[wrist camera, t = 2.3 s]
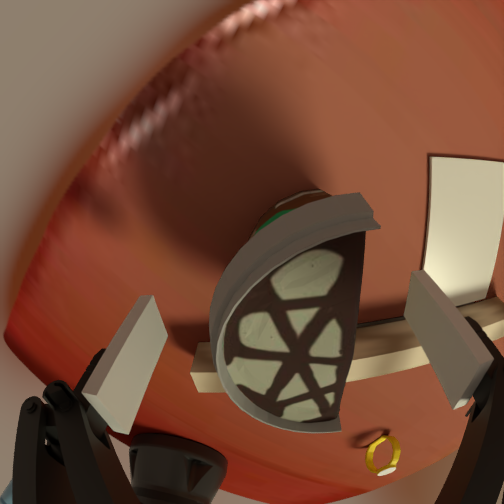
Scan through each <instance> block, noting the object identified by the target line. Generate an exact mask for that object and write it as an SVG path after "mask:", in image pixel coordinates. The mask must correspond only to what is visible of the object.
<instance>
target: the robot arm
mask: <svg viewBox="0 0 504 504" xmlns="http://www.w3.org/2000/svg"><path fill="white" fill-rule="evenodd" d="M404 317H405V318H406V320H407V322H408V323H409V325H410V327H411V329H412V330H413V332H414V334H415V336H416V337H417V339H418V341H419V343H420V345H421V346H422V348H423V350H424V352H425V354H426V356H427V358H428V360H429V361H430V363H431V365H432V367H433V369H434V371H435V373H436V375H437V377H438V379H439V381H440V383H441V385H442V387H443V389H444V392H445V394H446V396H447V398H448V400H449V402H450V405H451V407H452V409H453V410H454V409H456V408H459V407H461V406H463V405H466V404H467V403H468V401H469V400H470V398H471V397H472V395H473V397H474V399H475V402H474V403H473V405H472V406H471V408H470V409H469V410H468V412H467V414H466V415H465V416H466V417H467V416H468V415H469V414H470V417H469V420H468V423H467V427H466V430H465V433H464V436H463V439H462V442H461V445H460V447H459V450H458V453H457V456H456V458H455V461H454V463H453V466H452V468H451V470H450V473H449V475H448V477H447V480H446V482H445V484H444V486H443V488H442V490H441V492H440V494H439V496H438V498H437V500H436V502H435V504H496V502H497V499H498V496H499V493H500V491H501V488H502V485H503V481H504V357H503V356H502V355H501V353H500V352H499V350H498V349H497V348H496V346H495V345H494V343H493V342H492V341H491V339H490V338H489V337H487V334H486V333H485V331H483V329H482V327H481V326H480V325H479V324H478V322H477V321H475V320H474V319H472V318H471V317H469V316H467V317H463V315H462V314H461V313H460V312H459V310H458V309H457V308H456V307H455V305H454V304H453V303H452V302H451V300H450V299H449V298H448V297H447V296H446V294H445V293H444V292H443V291H442V290H441V288H440V287H439V286H438V285H437V284H436V283H435V282H434V280H433V279H432V278H431V277H430V276H429V275H428V274H427V273H426V271H425V270H418V271H412V272H411V279H410V285H409V291H408V296H407V301H406V306H405V311H404ZM167 337H168V334H167V332H166V329H165V327H164V324H163V321H162V319H161V316H160V313H159V311H158V308H157V305H156V302H155V299H154V296H153V295H145V296H140V297H139V299H138V300H137V302H136V303H135V305H134V306H133V308H132V309H131V311H130V312H129V314H128V315H127V317H126V318H125V320H124V322H123V323H122V325H121V326H120V328H119V329H118V331H117V333H116V334H115V336H114V337H113V339H112V341H111V342H110V344H109V346H108V347H107V349H103V348H102V349H101V350H100V351H99V352H98V353H97V354H96V355H95V356H94V357H93V359H92V360H91V362H90V365H88V367H87V369H86V371H85V372H84V374H83V375H82V377H81V379H80V380H79V382H78V384H77V386H76V387H75V389H74V391H72V390H71V389H70V387H69V386H68V385H67V383H66V382H64V381H61V380H57V381H53V382H52V383H50V384H49V385H48V386H47V387H46V388H45V390H44V392H43V398H44V399H45V401H46V402H47V403H48V404H44V403H43V402H42V401H41V399H40V398H38V397H36V396H32V397H29V398H28V399H26V400H25V402H24V403H23V404H22V407H21V410H20V416H19V421H18V427H17V434H16V442H15V452H14V462H13V478H12V480H11V481H10V483H9V485H8V486H7V487H6V489H5V490H4V492H3V493H2V495H1V497H0V504H211V502H212V500H213V498H214V497H215V495H216V493H217V491H218V489H219V488H220V486H221V484H222V482H223V480H224V478H225V476H226V473H227V464H228V462H227V460H226V458H225V457H224V456H223V455H221V454H220V453H219V452H217V451H215V450H213V449H211V448H209V447H207V446H204V445H202V444H199V443H196V442H193V441H190V440H186V439H183V438H178V437H174V436H169V435H163V434H153V433H145V434H139V435H136V436H135V437H134V438H133V440H132V442H131V445H130V449H129V457H130V472H131V473H130V474H131V484H130V482H129V480H128V478H127V476H126V474H125V472H124V470H123V468H122V465H121V463H120V461H119V459H118V456H117V454H116V452H115V449H114V447H113V445H112V442H111V440H110V437H109V434H108V433H107V431H106V430H105V429H106V427H107V425H109V426H110V427H111V429H112V430H113V431H115V432H119V433H123V434H128V435H129V432H130V430H131V427H132V424H133V422H134V419H135V416H136V414H137V411H138V409H139V406H140V403H141V401H142V398H143V396H144V393H145V391H146V388H147V386H148V383H149V381H150V378H151V376H152V373H153V371H154V368H155V366H156V363H157V361H158V359H159V356H160V354H161V351H162V349H163V347H164V344H165V342H166V339H167ZM470 412H471V413H470ZM45 439H46V440H47V445H45ZM502 504H504V492H503V499H502Z"/></svg>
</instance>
